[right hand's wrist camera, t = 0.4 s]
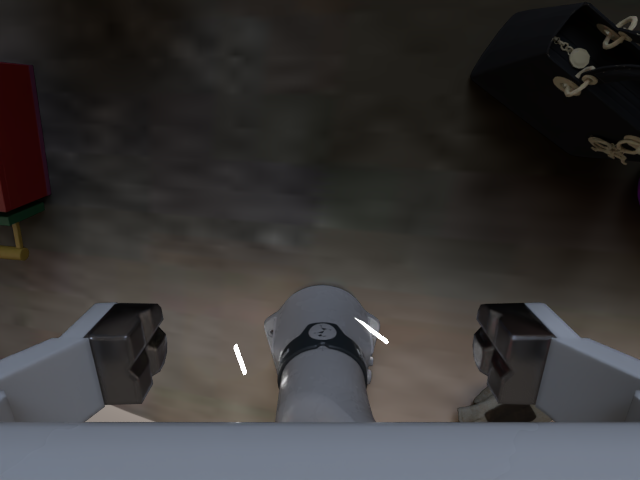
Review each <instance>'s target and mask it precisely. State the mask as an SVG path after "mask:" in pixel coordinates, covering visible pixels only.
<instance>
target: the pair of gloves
mask: <svg viewBox="0 0 640 480" xmlns="http://www.w3.org/2000/svg"><path fill="white" fill-rule="evenodd" d="M474 403H475V405H471V406H468V407H461V408H458V409H457V411H458V420H459V422H550V421H551V420H552V419H551V418H550V417H548V416H547V415H546V414H544V413H543V412H542V411H540V410H539V409H538V408H536V407H535V405H524V404H498V402H497V401H496V399H495V397H494V395H493V394H492V392H491V390H490V388H489V387H487V388H485V389H484V390H483V391H482V392H481V393H480V394H479V395H478V396H477V397H476V398H475V399H474Z"/></svg>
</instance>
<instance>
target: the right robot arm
mask: <svg viewBox="0 0 640 480" xmlns="http://www.w3.org/2000/svg"><path fill="white" fill-rule="evenodd" d="M162 321H163V314H162V309H161V307H160V306H159V305H158V304H147V303H97V304H94V305H93V306H92V307H91V308H90V309H89V310H88V311H87V312H86V313H85V314H84V315H83V316H82V317H81V318H79V319H78V320H77V321H76V322H75V323H74V324H73V325H72V326H71V327H70V328H69V329H68V330H67V331H66V332H65V333H64V334H63V335H62V336H61V337H59V338H51V339H49V340H46V341H44V342H42V343H39V344H37V345H34V346H32V347H30V348H27V349H25V350H23V351H20V352H18V353H15V354H13V355H11V356H8V357H6V358H3V359H1V360H0V480H640V360H639V359H636V358H634V357H632V356H629V355H627V354H625V353H622V352H620V351H617V350H615V349H613V348H610V347H608V346H606V345H603V344H601V343H598V342H596V341H594V340H591V339H589V338H581V337H579V336H578V335H577V334H576V333H575V332H574V331H573V330H572V329H571V328H570V327H569V326H568V325H567V324H566V323H565V322H564V321H563V320H562V319H561V318H560V317H559V316H557V315H556V314H555V313H554V312H553V311H552V310H551V309H550V308H549V307H548V306H547V305H546V304H543V303H503V304H481V305H480V307H479V309H478V314H477V321H478V322H479V324H480V325H481V328H480V329H479V330H478V331H477V332H476V333H475V334H474V339H473V355H474V359H475V362H476V365H477V367H478V369H479V371H480V372H482V373H483V374H485V375H487V376H488V380H487V385H488V387H489V388H490V390H491V392H492V394H493V395H494V397H495V399H496V401H497V402H498V404H524V405H535V407H536V408H538V409H539V410H540V411H542V412H543V413H544V414H546V415H547V416H548V417H550V418H551V419H552V420H554V421H555V422H376V421H375V419H374V417H373V415H372V411H371V408H370V404H369V400H368V396H367V391H366V388H367V384H370V382H371V370H370V369H368V367H369V366H372V365H373V357H372V353H373V350H374V347H375V343H376V340H377V337H378V338H379V339H381V340H382V341H384V342H385V343H386V344H387V343H388V340H387V339H385V338H384V337H383V336H381V335H380V334H379V330H380V321H379V320H378V319H377V318H376V317H375V316H373V315H371V314H370V313H368V312H366V311H365V310H364V308H363V307H362V306H361V304H360V303H359V302H358V300H357V299H356V298H355V297H354V296H352V295H351V294H350V293H348V292H346V291H345V290H342V289H340V288H337V287H333V286H327V285H318V286H311V287H307V288H304V289H302V290H300V291H298V292H296V293H295V294H293V295H292V296H291V297H290V298H288V299H287V301H286V302H285V303H284V304H283V306H282V307H281V309H280V310H279V311H278V312H276V313H274V314H273V315H271V316H269V317H268V318H267V319H266V320H265V322H264V329H265V333H266V336H267V340H268V343H269V347H270V350H271V354H272V357H273V360H274V364H275V367H276V371H277V375H278V388H279V396H278V404H277V411H276V419H275V422H85V421H87V420H88V419H89V418H91V417H92V416H93V415H94V414H96V413H97V412H98V411H100V410H101V409H102V408H104V407H105V405H115V404H142V402H143V401H144V399H145V397H146V395H147V394H148V392H149V390H150V388H151V387H152V385H153V380H152V376H153V375H155V374H157V373H158V372H160V371H161V369H162V367H163V365H164V363H165V359H166V354H167V338H166V334H165V333H164V332H163V331H162V330H161V329H160V328H159V325H160V324H161V322H162ZM271 330H273V332H272V331H271ZM234 350H235V352H236V355H237V358H238V361H239V363H240V366H241V369H242V372H243V374H244V375H246V369H245V366H244V363H243V360H242V357H241V355H240V352H239V349H238V346H237V345H235V346H234Z"/></svg>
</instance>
